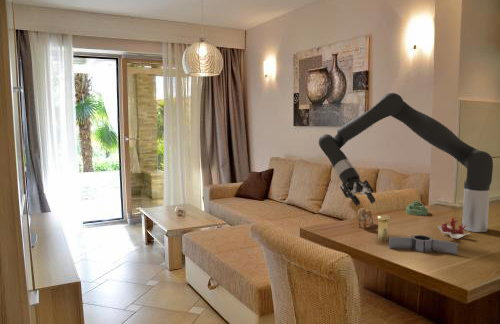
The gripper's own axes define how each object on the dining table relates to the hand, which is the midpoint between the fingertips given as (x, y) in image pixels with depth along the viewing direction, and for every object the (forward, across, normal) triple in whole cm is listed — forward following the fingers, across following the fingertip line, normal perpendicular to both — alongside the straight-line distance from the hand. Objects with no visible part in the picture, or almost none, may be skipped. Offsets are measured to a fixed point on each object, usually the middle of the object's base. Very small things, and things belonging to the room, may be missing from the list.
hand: (366, 203), depth 160 cm
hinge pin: (+15, 0, +2) cm, 15 cm away
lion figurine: (+3, +8, +15) cm, 17 cm away
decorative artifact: (+1, +48, +18) cm, 51 cm away
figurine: (+24, +26, -6) cm, 36 cm away
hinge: (+27, +2, -9) cm, 28 cm away
